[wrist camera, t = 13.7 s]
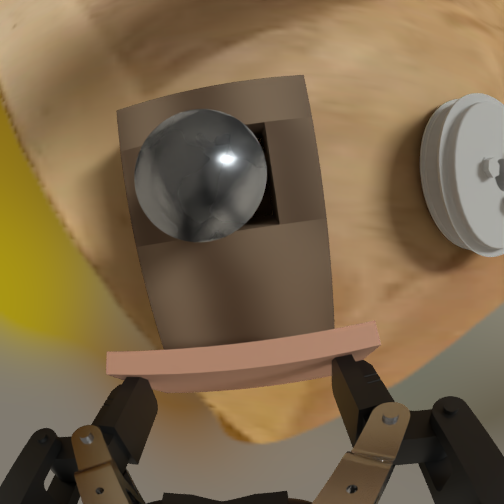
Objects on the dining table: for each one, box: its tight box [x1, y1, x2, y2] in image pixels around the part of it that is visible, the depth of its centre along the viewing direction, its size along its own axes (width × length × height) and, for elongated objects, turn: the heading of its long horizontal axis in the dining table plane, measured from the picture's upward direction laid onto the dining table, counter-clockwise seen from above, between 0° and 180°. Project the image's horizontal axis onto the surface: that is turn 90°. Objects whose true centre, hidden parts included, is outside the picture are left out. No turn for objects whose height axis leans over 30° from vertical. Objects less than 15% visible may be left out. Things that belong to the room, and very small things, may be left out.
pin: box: [134, 109, 267, 242], centre depth 14 cm, size 4×4×11 cm
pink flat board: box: [106, 321, 381, 393], centre depth 13 cm, size 11×7×1 cm
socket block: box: [117, 75, 334, 350], centre depth 17 cm, size 10×16×5 cm, turn 9°
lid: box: [420, 93, 504, 257], centre depth 16 cm, size 13×13×5 cm
